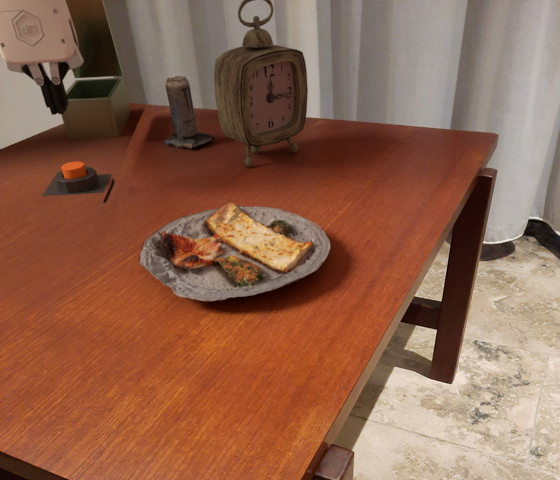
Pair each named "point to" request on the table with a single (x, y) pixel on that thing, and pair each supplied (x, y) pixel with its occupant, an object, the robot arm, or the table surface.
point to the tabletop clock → (261, 90)
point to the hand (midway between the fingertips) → (59, 111)
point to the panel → (80, 184)
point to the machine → (96, 108)
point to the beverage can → (183, 115)
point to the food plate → (234, 251)
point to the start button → (74, 170)
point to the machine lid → (94, 39)
